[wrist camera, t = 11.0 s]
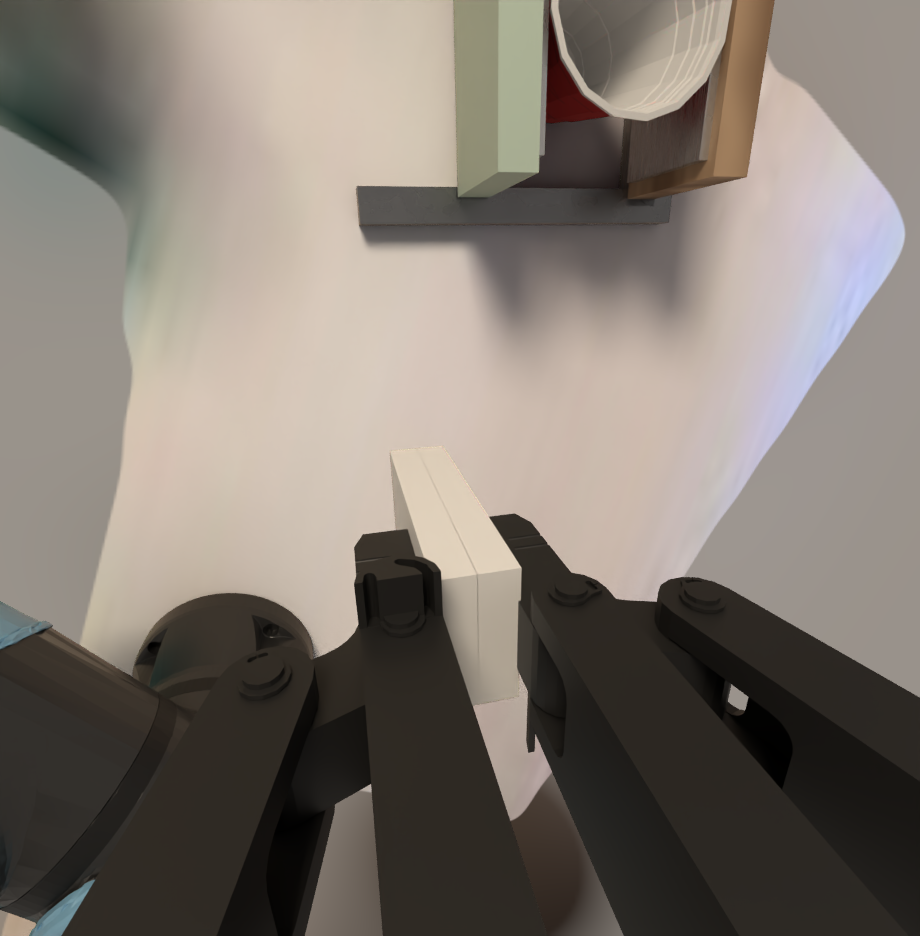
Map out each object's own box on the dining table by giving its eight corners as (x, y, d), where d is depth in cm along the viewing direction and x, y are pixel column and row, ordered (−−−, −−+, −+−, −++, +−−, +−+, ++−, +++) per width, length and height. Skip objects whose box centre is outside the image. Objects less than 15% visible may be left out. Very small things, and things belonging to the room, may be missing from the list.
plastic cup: (493, -52, 33) (598, -203, 23) (623, 21, 38) (762, -77, 27) (456, 131, 36) (534, 74, 26) (580, 181, 41) (691, 148, 30)
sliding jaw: (457, 197, 37) (497, 172, 28) (451, -93, 32) (499, -243, 22) (497, 197, 38) (548, 172, 29) (497, -88, 32) (562, -231, 23)
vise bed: (359, 225, 38) (368, 206, 28) (329, -125, 31) (327, -329, 21) (658, 223, 43) (762, 207, 33) (689, -78, 36) (834, -222, 26)
